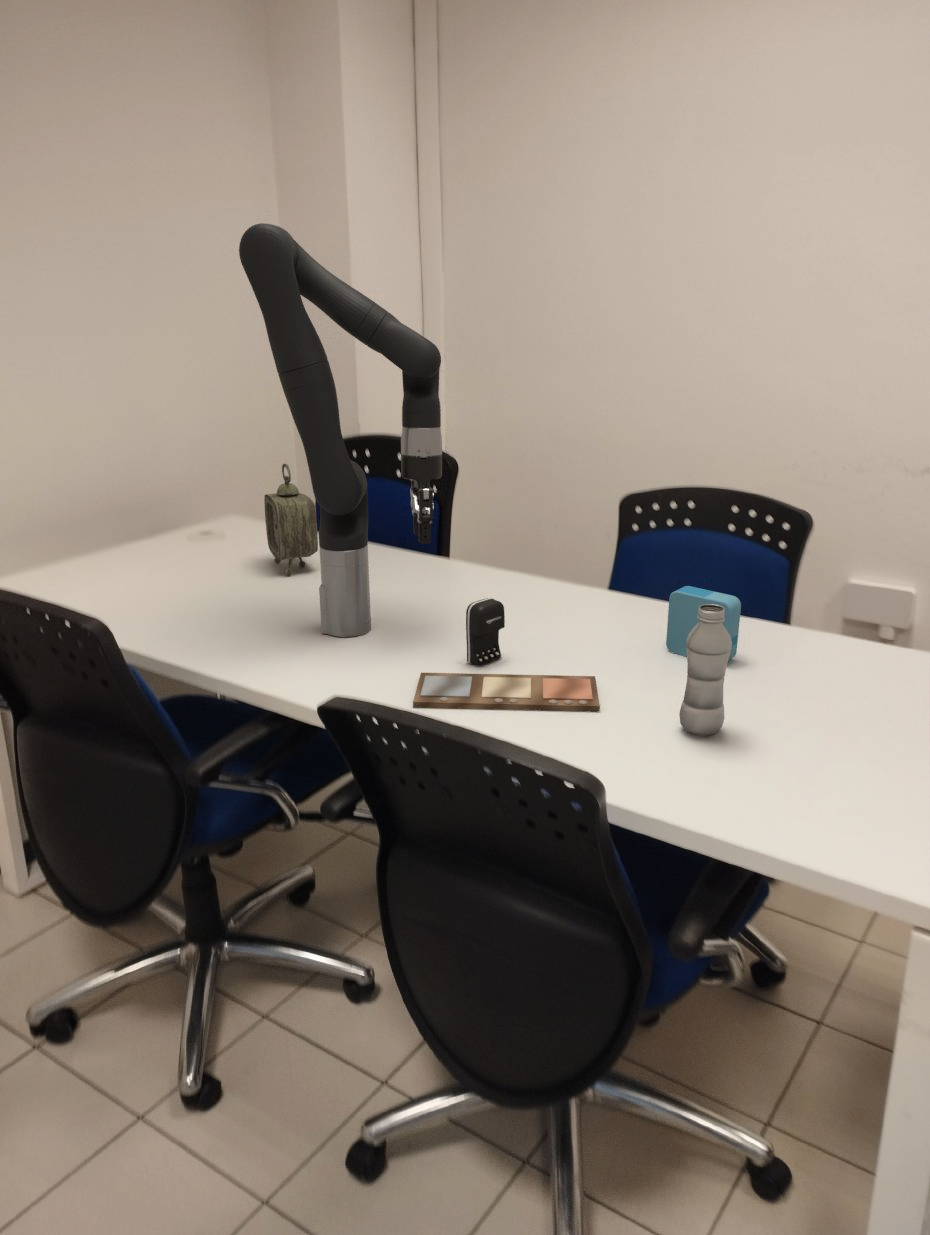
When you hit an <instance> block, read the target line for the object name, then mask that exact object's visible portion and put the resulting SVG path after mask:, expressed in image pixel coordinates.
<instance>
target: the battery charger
mask: <svg viewBox="0 0 930 1235" xmlns="http://www.w3.org/2000/svg"><path fill="white" fill-rule="evenodd" d="M465 611H466V613H465V631H466V632H465V634H466V636H465V638H466V662H467V663H468V664H469V665H473V666H478V667H480V666H485V665H487V664H491V663H493V662H495V661H497V660H500V659H501V658H502V652H501V648H500V644H499V633H500V630H501V629H504V628H505V627H506V626H505V622H506V620H505V618H506V616H505V606H504V604H503V603H502V602H501V601H499V600H497V599H495V598H492V597H487V598H483V599H479V600H476V601H474V602H471V603H470V604H468V606H467V608H466V610H465Z"/></svg>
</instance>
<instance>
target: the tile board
mask: <svg viewBox="0 0 930 1235" xmlns="http://www.w3.org/2000/svg"><path fill="white" fill-rule="evenodd" d="M600 706H601V704H600V699H599V693H598V687H597V680H596V676H594V675H558V674H557V675H554V674H553V675H552V674H551V675H550V674H508V673H507V674H506V673H505V674H504V673H503V674H502V673H500V674H499V673H466V672H465V673H463V672H462V673H459V672H458V673H456V672H455V673H454V672H420V675H419V678H418V682H417V686H416V688H415V693H414V696H413V701H412V708H421V709H423V708H424V709H459V710H460V709H464V710H465V709H467V710H469V709H470V710H502V711H503V710H504V711H505V710H507V711H512V710H513V711H547V712H548V711H549V712H550V711H551V712H552V711H553V712H586V711H591V713H594V712H595V713H597V711H600V712H601V710H600V709H601V708H600Z"/></svg>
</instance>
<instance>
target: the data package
mask: <svg viewBox="0 0 930 1235" xmlns="http://www.w3.org/2000/svg"><path fill="white" fill-rule="evenodd" d="M668 600H669V601H668V610H667V611H668V612H667V614H668V615H667V627H666V637H665V638H666V640H665V645H666V648H667V650H668V651H669V652H671V653H673V654H675V655H679V656H681V657H682V656H683V657H687V637H688V635H689V633H690V632H691V630H692V629H693V628H694V627H695V626H696V625H697V624H698V623H699V620H698V619H697V615H698V610H699V606H701V605H704V604H714V605H719V606H722V607H724V610H725V612H724V617H725V621H724V622H723V623H722V624H723V626H724V627H725V628H726V630H727V631H728V633H729V635H730V637H731V641H732V646H731V650H730V655H729V659H728V661H730V660H731V659H733V658H735V657H736V655H737V652H738V641H739V631H740V621H741V609H742V602H741V600H740V598H738V597H737V596H735V595H731V594H727V593H722V592H718V591H713V590H709V589H704V588H699V587H695V586H691V585H684V586H682V587H681V588H680V587H679V589H676V590H675V591H673V592H671V593H670V595H669V598H668Z"/></svg>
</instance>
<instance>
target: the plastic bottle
mask: <svg viewBox="0 0 930 1235" xmlns="http://www.w3.org/2000/svg"><path fill="white" fill-rule="evenodd" d="M724 612H725V610H724V607H722V606H719V605H714V604H704V605H701V606H699V610H698V615H697V619H698V620H699V623H698V624H697V625H696V626H695V627H694V628H693V629H692V630H691V632H690V633H689V635H688V637H687V658H686V660H687V661H686V662H687V671H686V672H687V676H686V684H685V691H684V696H683V700H682V702H681V706H680V709H679V724H680V725H681V727H682V728H683V730H684V731H686V732H687V733H689V734H692V735H697V736H712V735H715V734H717V733H718V732H719V731H720V730H721V729H722V727H723V725H724V722H725V706H724V684H725V676H726V672H727V666H728V661H729V660H728V659H729V655H730V650H731V646H732V641H731V637H730V635H729V633H728V631H727V630H726V628H725V627H724V626H723V624H722V623H723V622H724V621H725V617H724Z"/></svg>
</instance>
